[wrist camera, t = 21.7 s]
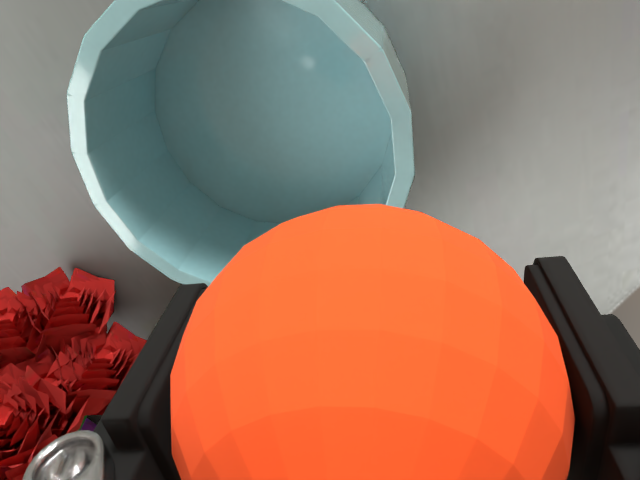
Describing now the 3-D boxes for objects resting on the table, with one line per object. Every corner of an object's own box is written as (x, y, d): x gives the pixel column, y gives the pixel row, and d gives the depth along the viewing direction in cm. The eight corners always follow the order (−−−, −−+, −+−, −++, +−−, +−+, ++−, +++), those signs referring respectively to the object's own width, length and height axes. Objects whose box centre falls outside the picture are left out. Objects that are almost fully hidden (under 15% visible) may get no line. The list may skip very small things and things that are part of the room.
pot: (188, 239, 31) (137, 310, 25) (106, -13, 24) (4, -4, 18) (414, 222, 29) (422, 297, 22) (396, -67, 22) (400, -78, 15)
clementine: (561, 367, 13) (731, 753, 6) (328, 427, 15) (292, 757, 9) (454, 89, 9) (592, 342, 3) (175, 220, 12) (-53, 515, 5)
